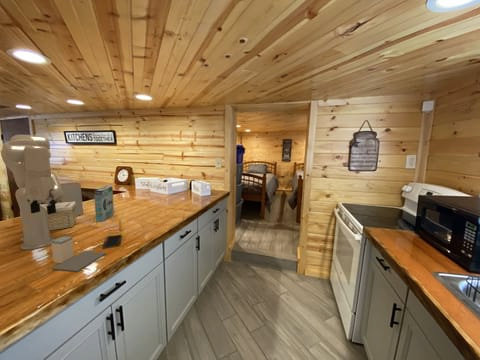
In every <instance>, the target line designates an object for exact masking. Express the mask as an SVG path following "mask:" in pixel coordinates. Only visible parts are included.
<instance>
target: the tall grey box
mask: <svg viewBox="0 0 480 360" xmlns="http://www.w3.org/2000/svg"><path fill="white" fill-rule="evenodd" d="M81 184H82V183H81V182H65V183H60V185H61V187H62V189H63V194H64V195H63V198H62V199H61V200H60V203H65V202H76V206H75V207H76V209H75V212H76V213H75V214H76V217H79V215H80V216H81V215H83V214H84V206H83V197H82V196H83V195H82V185H81Z"/></svg>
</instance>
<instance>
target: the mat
mask: <svg viewBox="0 0 480 360" xmlns="http://www.w3.org/2000/svg"><path fill="white" fill-rule="evenodd" d="M106 255H107V252H101V251H91V250H83V251H81V252H79V253H78V254H76V255H74V257H72V258H70V259H68V260H66V261H65V262H63V263H59V264H57V265H55V266H54V267H52V268H51V270H52V271H61V270H62V272H74V273H78V272H80V271H82V270H83V269H85V268H86V267H88V266H89V265H91V264H92V263H94V262H96V261H97V260H100V259H101V258H103V257H104V256H106Z"/></svg>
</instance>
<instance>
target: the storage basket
mask: <svg viewBox="0 0 480 360" xmlns="http://www.w3.org/2000/svg"><path fill="white" fill-rule="evenodd" d="M39 205H40V206H42V207H44V208H45V209H46V210H47V206H48V204H47V203H41V204H39ZM55 206H56V213H53V214H48V221H49V230H50V231H55V230H56V231H57V230H62V229H68V228H72V227H74V225H75V223H76V218H77V216H76V214H75V213H76V212H75V209H76V207H75V206H76V202H65V203H61V202H56V204H55ZM19 216H20V217H21V212H20V211H19Z"/></svg>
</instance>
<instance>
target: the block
mask: <svg viewBox="0 0 480 360" xmlns="http://www.w3.org/2000/svg"><path fill="white" fill-rule="evenodd" d="M54 239H55V240H53V241H51V244H50V245H51V252H52V260H53V263H57V264H58V263H59V264H61V263H63V262H65V261H66V260H68V259H70V258H72V257H74V256H75V252H74V243H73V242H74V241H73V236H60V237H58V238H54Z"/></svg>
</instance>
